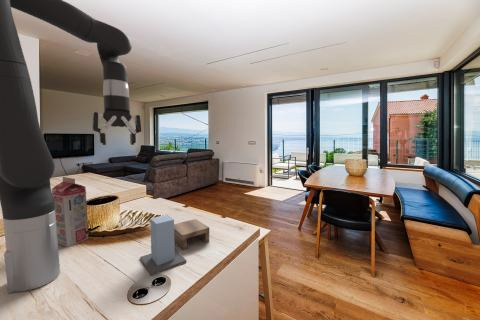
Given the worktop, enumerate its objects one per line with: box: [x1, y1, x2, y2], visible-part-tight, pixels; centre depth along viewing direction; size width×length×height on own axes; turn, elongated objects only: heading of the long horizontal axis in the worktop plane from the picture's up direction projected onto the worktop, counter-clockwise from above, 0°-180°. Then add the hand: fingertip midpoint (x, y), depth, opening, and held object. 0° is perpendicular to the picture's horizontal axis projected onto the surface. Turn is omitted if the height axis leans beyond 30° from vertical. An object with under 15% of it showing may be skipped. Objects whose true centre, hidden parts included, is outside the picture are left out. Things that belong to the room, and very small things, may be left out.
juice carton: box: [51, 176, 89, 248], centre depth 75 cm, size 7×7×22 cm
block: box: [149, 214, 176, 265], centre depth 64 cm, size 5×5×12 cm
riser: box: [174, 218, 210, 251], centre depth 77 cm, size 10×10×5 cm
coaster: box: [139, 248, 187, 276], centre depth 65 cm, size 10×10×1 cm
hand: (118, 144), depth 75 cm, fingers open, 8 cm apart
